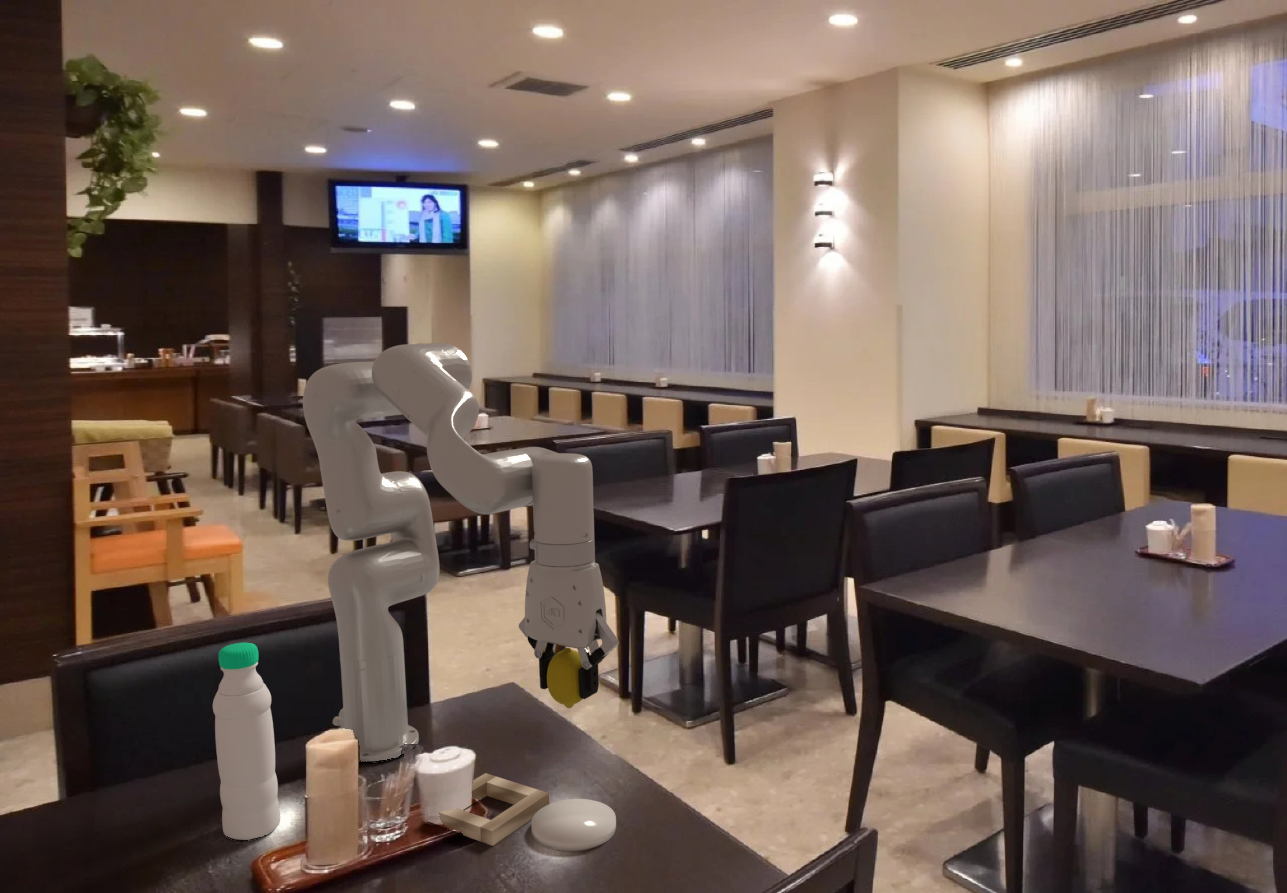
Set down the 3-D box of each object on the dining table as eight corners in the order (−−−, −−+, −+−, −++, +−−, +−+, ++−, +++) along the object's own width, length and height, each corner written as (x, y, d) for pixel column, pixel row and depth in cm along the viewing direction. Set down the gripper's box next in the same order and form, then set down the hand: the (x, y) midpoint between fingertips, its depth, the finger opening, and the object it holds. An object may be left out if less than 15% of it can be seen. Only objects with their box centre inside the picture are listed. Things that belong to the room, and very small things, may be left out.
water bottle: (292, 822, 130) (279, 642, 127) (248, 848, 124) (233, 659, 121) (255, 811, 133) (241, 634, 130) (211, 835, 127) (195, 651, 124)
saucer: (514, 836, 126) (513, 827, 125) (566, 799, 135) (565, 791, 135) (582, 860, 120) (582, 851, 120) (632, 820, 129) (632, 812, 129)
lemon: (584, 718, 122) (583, 656, 121) (542, 715, 123) (540, 654, 122) (595, 700, 127) (594, 641, 126) (554, 698, 128) (552, 639, 127)
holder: (427, 822, 130) (426, 807, 129) (486, 786, 139) (485, 773, 139) (492, 846, 123) (492, 831, 123) (549, 807, 133) (548, 793, 133)
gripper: (493, 551, 124) (498, 687, 126) (603, 567, 115) (607, 714, 117) (530, 539, 130) (535, 669, 133) (638, 554, 121) (641, 694, 123)
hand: (569, 689), depth 125 cm, fingers closed on lemon, 5 cm apart
